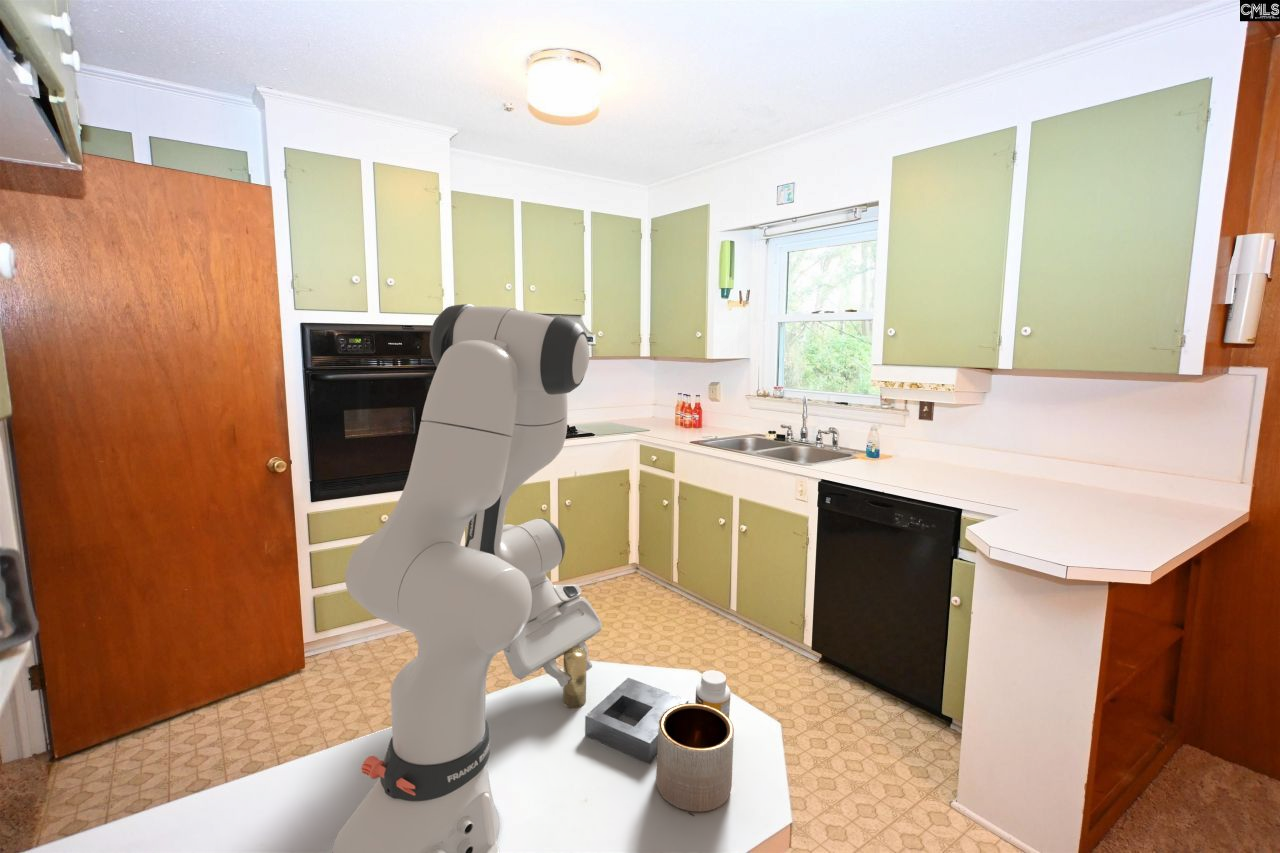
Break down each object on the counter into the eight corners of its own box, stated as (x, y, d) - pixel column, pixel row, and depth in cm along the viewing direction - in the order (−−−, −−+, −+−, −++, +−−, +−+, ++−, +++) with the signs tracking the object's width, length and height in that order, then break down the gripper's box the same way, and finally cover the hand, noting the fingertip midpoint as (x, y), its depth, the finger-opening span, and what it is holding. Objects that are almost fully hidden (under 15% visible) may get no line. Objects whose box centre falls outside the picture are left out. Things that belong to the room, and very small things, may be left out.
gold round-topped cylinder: (576, 710, 103) (577, 662, 102) (558, 702, 105) (558, 655, 104) (590, 698, 107) (591, 651, 105) (572, 691, 109) (573, 645, 107)
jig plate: (649, 764, 91) (650, 743, 90) (585, 735, 97) (585, 715, 96) (687, 718, 102) (688, 699, 101) (627, 695, 108) (628, 677, 107)
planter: (728, 762, 92) (732, 705, 90) (733, 819, 81) (737, 755, 80) (658, 756, 93) (660, 699, 91) (653, 811, 82) (655, 748, 80)
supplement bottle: (686, 733, 98) (689, 675, 97) (709, 719, 102) (711, 663, 100) (712, 750, 94) (716, 691, 93) (735, 735, 98) (738, 677, 96)
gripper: (502, 621, 99) (544, 698, 95) (583, 582, 115) (623, 646, 111) (484, 638, 102) (524, 713, 98) (566, 597, 119) (604, 660, 115)
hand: (577, 677), depth 105 cm, fingers closed on gold round-topped cylinder, 4 cm apart
